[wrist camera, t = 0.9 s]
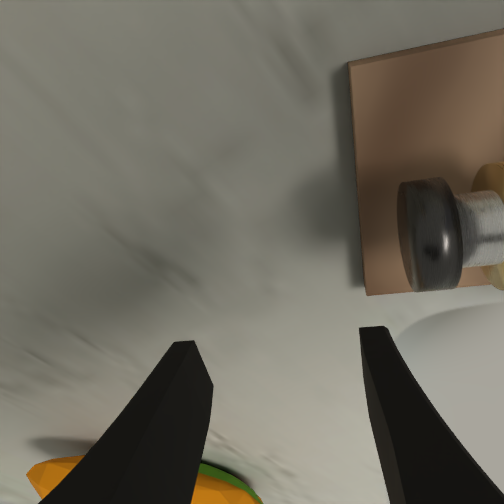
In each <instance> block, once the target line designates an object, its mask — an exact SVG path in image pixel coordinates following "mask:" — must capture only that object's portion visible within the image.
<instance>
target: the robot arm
mask: <svg viewBox="0 0 504 504" xmlns="http://www.w3.org/2000/svg"><path fill="white" fill-rule="evenodd" d="M359 334H360V345H361V356H362V367H363V378H364V385H365V392H366V399H367V406H368V412H369V418H370V422H371V426H372V431H373V435H374V439H375V443H376V447H377V451H378V455H379V459H380V463H381V468H382V472H383V476H384V480H385V484H386V488H387V492H388V496H389V500H390V504H504V494H503V493H502V492H501V491H500V490H499V488H498V487H497V486H496V485H495V484H494V483H493V481H492V480H491V479H490V478H489V477H488V476H487V474H486V473H485V472H484V471H483V470H482V469H481V467H480V466H479V465H478V464H477V462H476V461H475V460H474V459H473V458H472V456H471V455H470V454H469V453H468V451H467V450H466V449H465V448H464V446H463V445H462V444H461V442H460V441H459V440H458V439H457V438H456V436H455V435H454V433H453V432H452V431H451V429H450V428H449V427H448V425H447V424H446V423H445V422H444V420H443V419H442V417H441V416H440V415H439V413H438V412H437V410H436V409H435V408H434V406H433V405H432V403H431V402H430V400H429V399H428V397H427V396H426V394H425V393H424V392H423V390H422V388H421V387H420V386H419V384H418V382H417V381H416V379H415V378H414V376H413V375H412V373H411V371H410V370H409V368H408V366H407V365H406V363H405V361H404V360H403V358H402V356H401V354H400V353H399V351H398V349H397V347H396V345H395V343H394V341H393V339H392V337H391V335H390V332H389V330H388V328H386V327H385V326H375V327H362V328H359ZM212 397H213V383H212V381H211V379H210V376H209V374H208V372H207V369H206V367H205V365H204V362H203V360H202V358H201V355H200V353H199V351H198V348H197V346H196V344H195V341H194V340H192V341H179V342H174V343H173V344H172V345H171V347H170V348H169V349H168V351H167V352H166V353H165V355H164V356H163V357H162V359H161V360H160V361H159V363H158V364H157V366H156V367H155V368H154V370H153V371H152V372H151V374H150V375H149V376H148V378H147V379H146V381H145V382H144V383H143V385H142V386H141V387H140V389H139V390H138V391H137V393H136V394H135V395H134V396H133V398H132V399H131V400H130V402H129V403H128V404H127V406H126V407H125V408H124V410H123V411H122V412H121V413H120V415H119V416H118V417H117V418H116V420H115V421H114V422H113V423H112V424H111V426H110V427H109V428H108V429H107V430H106V432H105V433H104V434H103V435H102V436H101V438H100V439H99V440H98V441H97V442H96V444H95V445H94V446H93V447H92V448H91V449H90V450H89V452H88V453H87V454H86V455H85V456H84V457H83V458H82V459H81V461H80V462H79V463H78V464H77V465H76V466H75V467H74V468H73V469H72V470H71V471H70V472H69V473H68V474H67V475H66V477H65V478H64V479H63V480H62V481H61V482H60V483H59V484H58V485H57V486H56V487H55V488H54V489H53V490H52V491H51V492H50V493H49V494H48V495H46V496H45V497H44V498H43V499H42V500H41V501H40V502H39V503H38V504H191V501H192V497H193V492H194V488H195V484H196V480H197V475H198V471H199V467H200V462H201V458H202V454H203V449H204V445H205V441H206V436H207V432H208V427H209V422H210V415H211V407H212Z"/></svg>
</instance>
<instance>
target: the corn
mask: <svg viewBox="0 0 504 504" xmlns="http://www.w3.org/2000/svg"><path fill="white" fill-rule="evenodd" d="M84 456H85V455H82V456H73V457H64V458H55V459H51V460H48V461H45V462H42V463H39V464H36V465H34V466H33V467H32V468H31V469H30V470H29V472H28V473H27V474H26V475H27V477H28V479H29V481H30V482H31V484H32V485H33V487H34V488H35V490H36V491H37V493H38V494H39V496H40V497H41V499H43V498H44V497H45V496H46V495H48V494H49V493H50V492H51V491H52V490H53V489H54V488H55V487H56V486H57V485H58V484H59V483H60V482H61V481H62V480H63V479H64V478H65V477H66V475H67V474H68V473H69V472H70V471H71V470H72V469H73V468H74V467H75V466H76V465H77V464H78V463H79V462H80V461H81V459H82V458H83V457H84ZM191 504H263V502H262V500H261V498H260V497H259V496H257V495H256V493H255V492H254V491H253V490H252V489H251V488H250V487H248V486H247V485H246V484H245V483H243V482H242V481H241V480H239V479H237V478H236V477H234V476H232V475H230V474H228V473H226V472H224V471H222V470H220V469H217V468H215V467H212V466H209V465H206V464H202V463H200V467H199V471H198V475H197V480H196V484H195V488H194V492H193V497H192V501H191Z"/></svg>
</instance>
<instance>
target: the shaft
mask: <svg viewBox="0 0 504 504" xmlns="http://www.w3.org/2000/svg"><path fill="white" fill-rule="evenodd" d="M397 226H398V236H399V244H400V250H401V256H402V261H403V265H404V269H405V273H406V276H407V279H408V282H409V284H410V287H411V288H412V290H413V291H414V292H425V291H436V290H447V289H454V288H456V287H457V285H458V283H459V281H460V278H461V273H462V268H466V267H476V266H480V267H481V269H482V271H483V273H484V275H485V276H486V278H487V279H488V281H489V282H490V283H491V284H492V285H493V286H494V287H496V288H497V289H500V290H504V161H502V162H495V163H489V164H485V165H483V166H482V167H481V168H480V169H479V171H478V172H477V174H476V176H475V178H474V181H473V185H472V189H471V192H470V193H463V194H456V195H453V193H452V191H451V189H450V187H449V185H448V183H447V182H446V181H445V180H444V179H443V178H442V177H434V178H427V179H421V180H414V181H407V182H402V183H401V184H400V185H399V189H398V194H397Z"/></svg>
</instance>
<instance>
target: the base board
mask: <svg viewBox="0 0 504 504" xmlns="http://www.w3.org/2000/svg"><path fill="white" fill-rule="evenodd" d="M348 71H349V85H350V99H351V112H352V126H353V139H354V153H355V167H356V180H357V194H358V207H359V221H360V235H361V248H362V262H363V275H364V285H365V290H366V295H367V296H371V295H382V294H393V293H404V292H414V291H413V290H412V288H411V287H410V284H409V282H408V279H407V276H406V273H405V269H404V265H403V261H402V256H401V250H400V244H399V236H398V226H397V194H398V189H399V185H400V184H401V183H402V182H407V181H414V180H421V179H427V178H434V177H442V178H443V179H444V180H445V181H446V182H447V183H448V185H449V187H450V189H451V191H452V193H453V195H456V194H463V193H470V192H471V189H472V185H473V181H474V178H475V176H476V174H477V172H478V171H479V169H480V168H481V167H482V166H483V165H485V164H489V163H495V162H502V161H504V29H500V30H495V31H491V32H486V33H481V34H477V35H472V36H467V37H463V38H458V39H453V40H449V41H444V42H439V43H435V44H430V45H425V46H421V47H416V48H411V49H407V50H402V51H397V52H393V53H388V54H383V55H379V56H374V57H369V58H365V59H360V60H355V61H351V62H348ZM490 284H491V283H490V282H489V281H488V279H487V278H486V276H485V275H484V273H483V271H482V269H481V267H480V266H476V267H466V268H462V273H461V278H460V281H459V283H458V285H457V287H456V288H458V287H468V286H479V285H490Z"/></svg>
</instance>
